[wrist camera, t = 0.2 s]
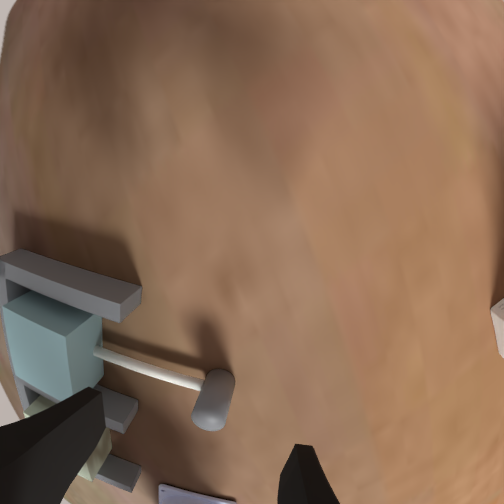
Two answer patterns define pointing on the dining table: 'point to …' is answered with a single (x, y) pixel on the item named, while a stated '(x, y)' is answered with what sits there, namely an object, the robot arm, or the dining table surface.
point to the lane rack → (90, 300)
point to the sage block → (98, 454)
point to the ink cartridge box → (499, 324)
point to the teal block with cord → (91, 356)
